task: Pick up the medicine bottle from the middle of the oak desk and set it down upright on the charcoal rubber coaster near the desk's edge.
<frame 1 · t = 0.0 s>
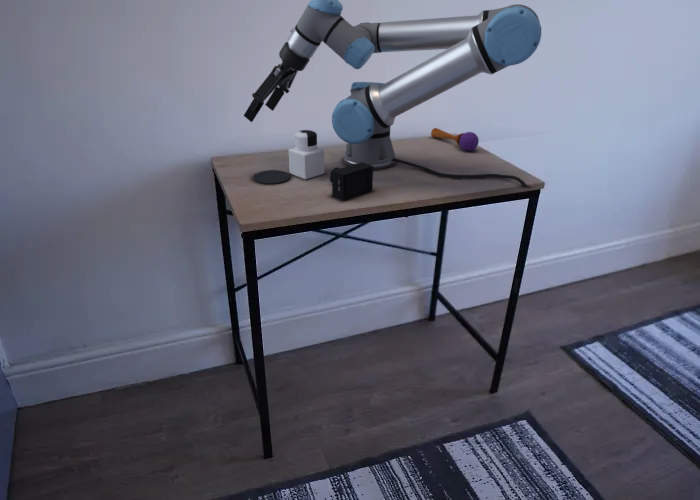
hand: (258, 113, 147), 15 cm above the table, tool tilted 35°, fingers open, 13 cm apart
digital camera: (350, 193, 136), on the table
medicine bottle: (306, 174, 148), on the table
maraca: (453, 145, 174), on the table
coaster: (271, 177, 145), on the table
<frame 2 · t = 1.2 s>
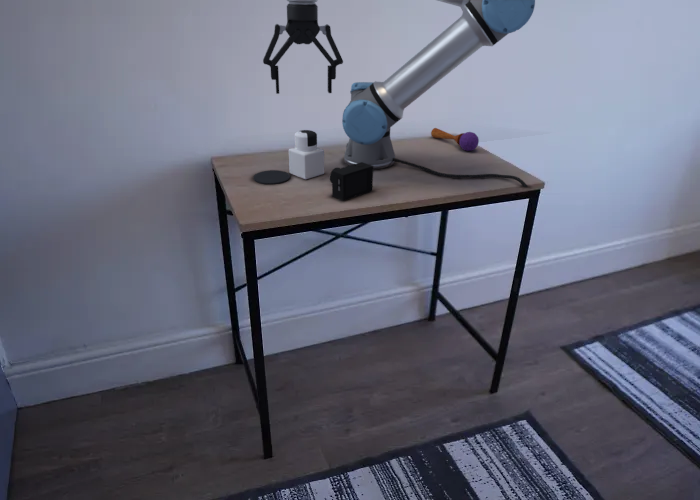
hand: (303, 92, 138), 22 cm above the table, tool pointing down, fingers open, 13 cm apart
nothing on the table moved.
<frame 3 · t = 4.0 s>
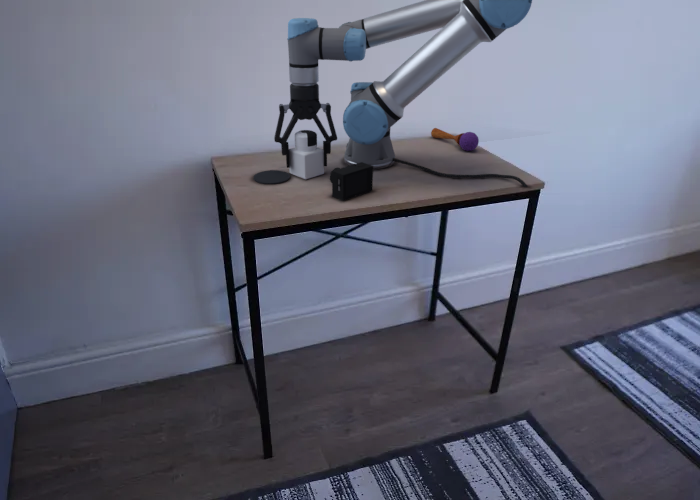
hand: (306, 165, 147), 2 cm above the table, tool pointing down, fingers closed on medicine bottle, 10 cm apart
medicine bottle: (306, 174, 148), on the table, touching gripper
everything else where it was.
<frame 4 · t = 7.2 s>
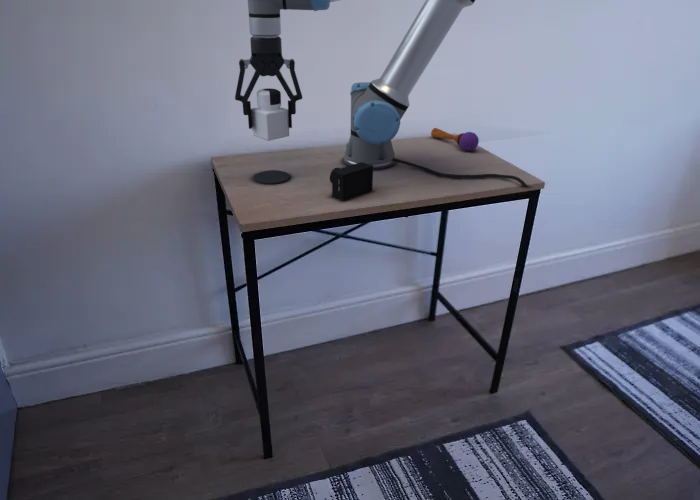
hand: (270, 126, 139), 14 cm above the table, tool pointing down, fingers closed on medicine bottle, 10 cm apart
medicine bottle: (271, 136, 140), point 11 cm above the table, touching gripper
everything else where it was.
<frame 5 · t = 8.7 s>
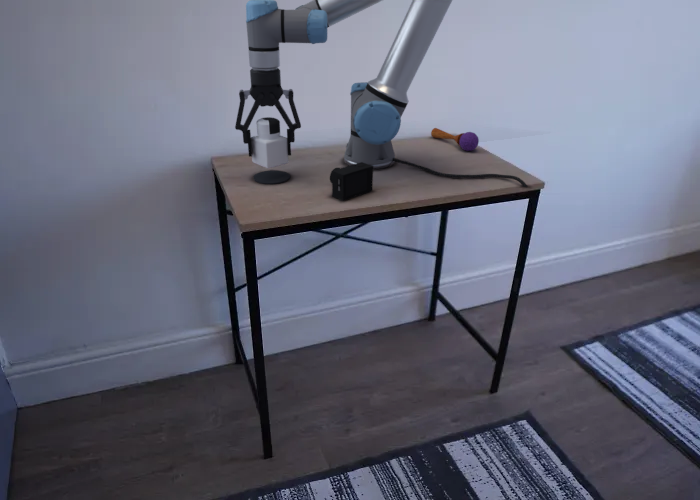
hand: (270, 154, 142), 7 cm above the table, tool pointing down, fingers closed on medicine bottle, 10 cm apart
medicine bottle: (270, 163, 143), point 4 cm above the table, touching gripper
everything else where it was.
when the fingers open (3 cm above the table, at t = 10.2 s): medicine bottle stays where it is, resting on coaster.
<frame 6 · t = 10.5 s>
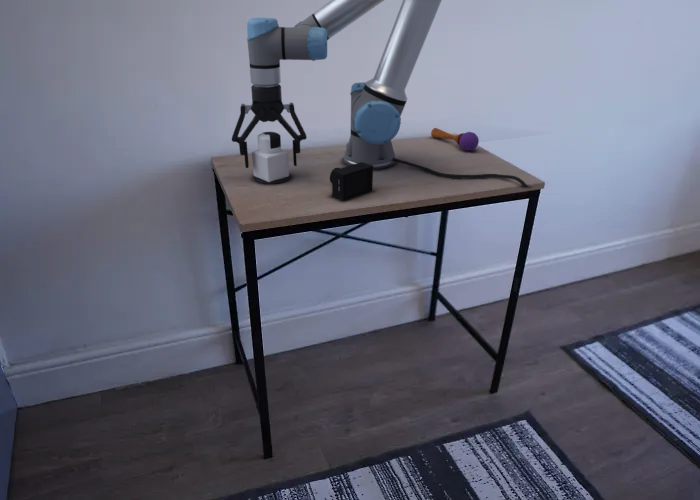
hand: (271, 165, 143), 4 cm above the table, tool pointing down, fingers open, 12 cm apart
medicine bottle: (271, 177, 145), resting on coaster
everything else where it was.
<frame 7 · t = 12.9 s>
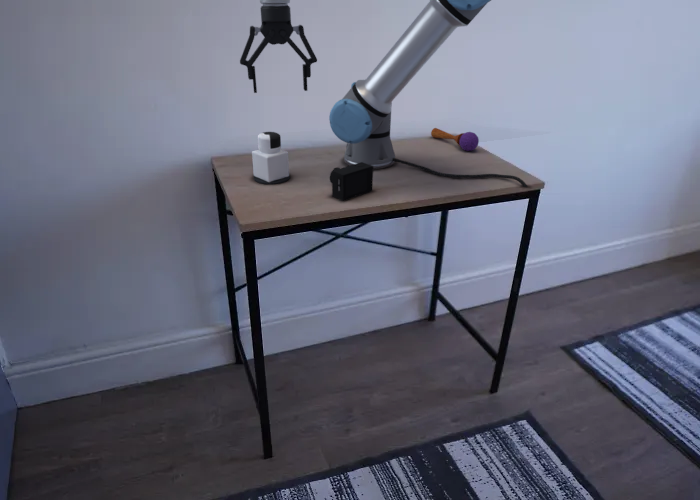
hand: (280, 91, 143), 22 cm above the table, tool pointing down, fingers open, 13 cm apart
nothing on the table moved.
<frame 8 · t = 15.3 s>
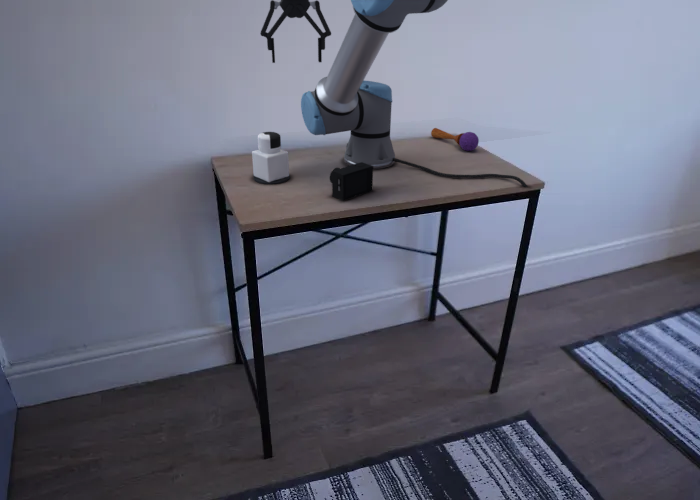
hand: (296, 62, 155), 27 cm above the table, tool pointing down, fingers open, 13 cm apart
nothing on the table moved.
at the end: medicine bottle 0.1 cm from the coaster (horizontally); medicine bottle tilted 0°; the gripper is holding nothing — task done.
